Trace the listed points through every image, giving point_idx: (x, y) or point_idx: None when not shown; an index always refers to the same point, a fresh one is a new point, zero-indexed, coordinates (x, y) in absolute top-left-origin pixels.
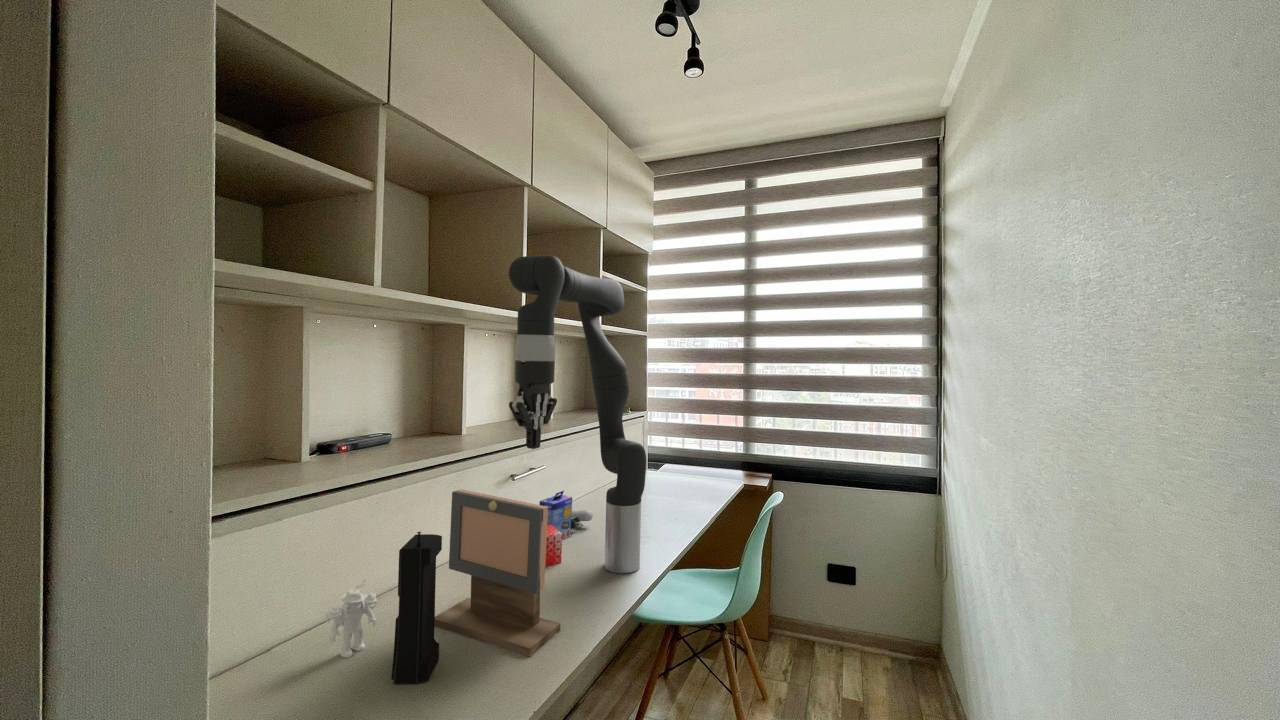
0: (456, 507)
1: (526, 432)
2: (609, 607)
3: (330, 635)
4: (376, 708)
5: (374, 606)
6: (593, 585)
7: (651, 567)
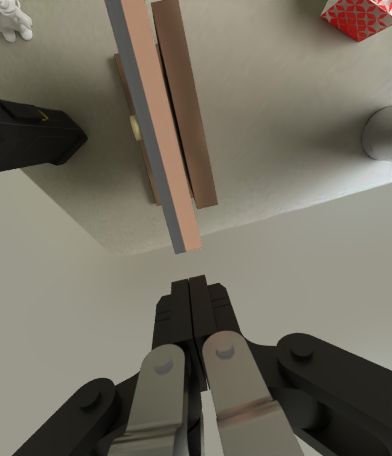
0: None
1: (153, 345)
2: (279, 197)
3: None
4: None
5: (13, 17)
6: (316, 143)
7: None
